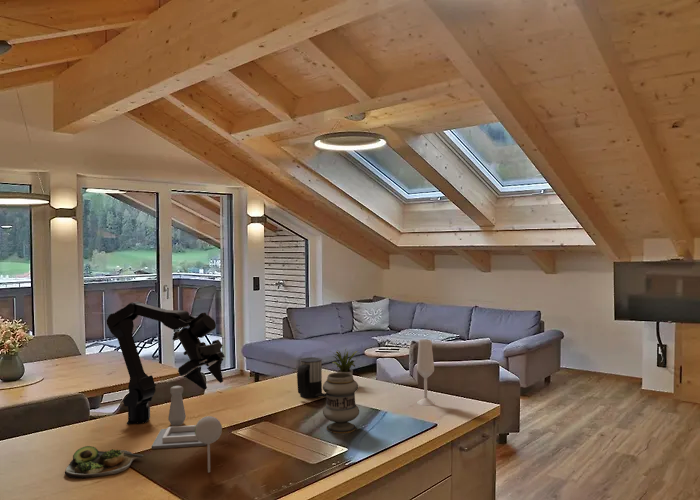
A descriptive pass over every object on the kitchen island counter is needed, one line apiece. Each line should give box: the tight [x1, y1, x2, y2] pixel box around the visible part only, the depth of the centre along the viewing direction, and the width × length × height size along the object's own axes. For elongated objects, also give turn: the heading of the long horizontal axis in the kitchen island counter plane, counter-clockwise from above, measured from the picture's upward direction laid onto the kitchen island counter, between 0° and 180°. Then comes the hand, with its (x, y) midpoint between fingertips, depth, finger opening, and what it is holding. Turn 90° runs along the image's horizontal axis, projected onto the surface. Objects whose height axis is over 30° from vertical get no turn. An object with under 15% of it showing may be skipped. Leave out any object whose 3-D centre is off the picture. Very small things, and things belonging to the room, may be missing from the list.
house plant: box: [329, 348, 358, 375], centre depth 244 cm, size 14×14×16 cm
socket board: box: [151, 424, 207, 450], centre depth 179 cm, size 16×16×2 cm
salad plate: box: [64, 445, 144, 479], centre depth 158 cm, size 19×18×5 cm
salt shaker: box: [167, 385, 187, 427], centre depth 193 cm, size 6×6×13 cm
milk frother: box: [296, 356, 326, 399], centre depth 225 cm, size 14×16×15 cm
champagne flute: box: [416, 338, 435, 406], centre depth 215 cm, size 7×7×24 cm
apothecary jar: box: [322, 371, 360, 434], centre depth 186 cm, size 12×12×18 cm
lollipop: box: [195, 415, 223, 473], centre depth 152 cm, size 7×7×15 cm
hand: (213, 385), depth 186 cm, fingers open, 9 cm apart
